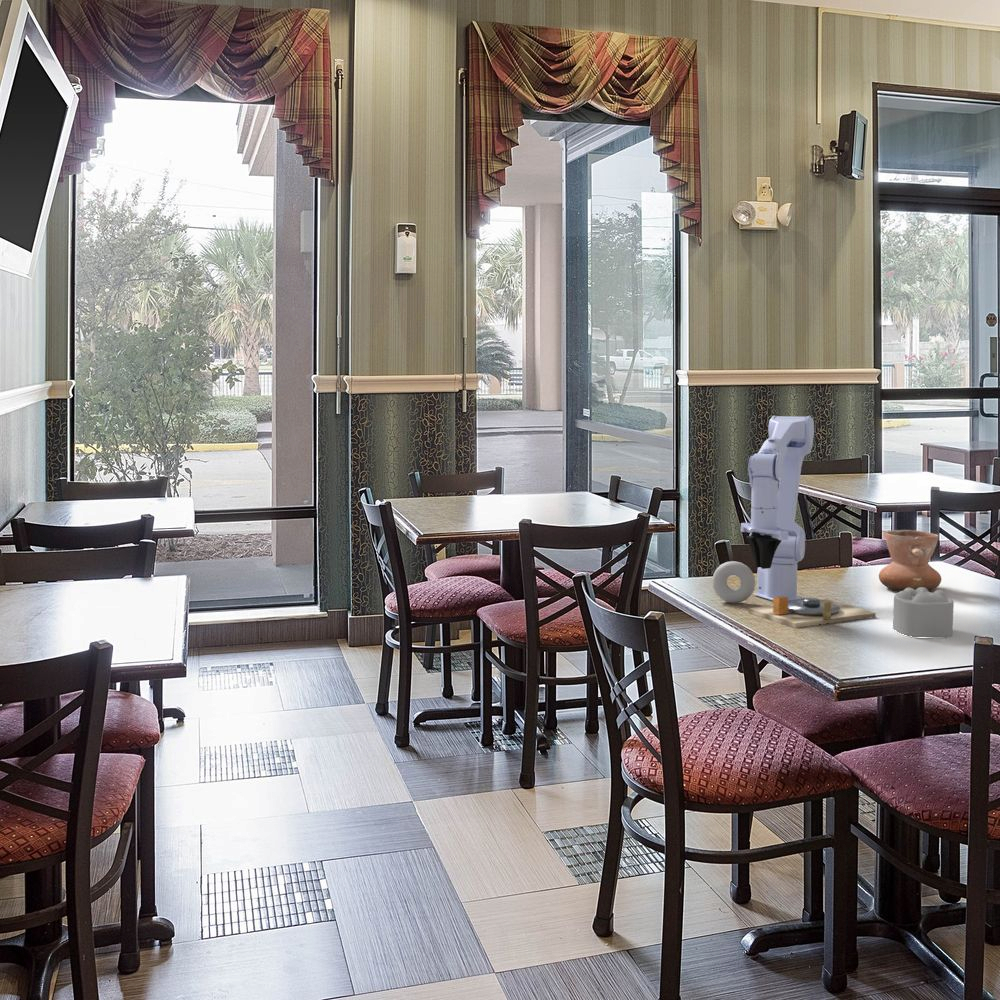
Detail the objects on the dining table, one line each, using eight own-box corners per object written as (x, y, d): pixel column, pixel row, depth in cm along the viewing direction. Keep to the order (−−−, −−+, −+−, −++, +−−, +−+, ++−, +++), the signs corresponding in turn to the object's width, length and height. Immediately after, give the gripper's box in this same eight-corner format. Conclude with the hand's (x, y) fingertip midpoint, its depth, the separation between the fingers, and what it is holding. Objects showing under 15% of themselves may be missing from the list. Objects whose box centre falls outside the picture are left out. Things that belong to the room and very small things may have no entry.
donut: (755, 602, 252) (756, 561, 251) (753, 605, 249) (754, 563, 248) (713, 600, 256) (713, 558, 254) (710, 603, 252) (711, 561, 251)
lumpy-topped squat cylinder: (908, 639, 217) (910, 597, 216) (882, 624, 230) (884, 584, 229) (958, 637, 218) (960, 596, 217) (930, 622, 231) (931, 583, 230)
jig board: (748, 612, 242) (749, 591, 241) (826, 603, 251) (826, 583, 250) (797, 628, 226) (797, 606, 226) (878, 618, 235) (879, 596, 235)
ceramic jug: (948, 597, 255) (951, 538, 254) (884, 595, 258) (886, 536, 256) (931, 584, 273) (934, 528, 272) (872, 582, 276) (874, 527, 274)
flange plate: (759, 608, 240) (759, 592, 240) (815, 601, 247) (815, 586, 246) (793, 619, 229) (794, 602, 229) (851, 612, 236) (851, 595, 235)
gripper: (730, 504, 243) (729, 563, 245) (770, 512, 230) (769, 574, 232) (755, 503, 246) (754, 561, 248) (796, 510, 233) (795, 571, 235)
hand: (763, 567), depth 240 cm, fingers closed
